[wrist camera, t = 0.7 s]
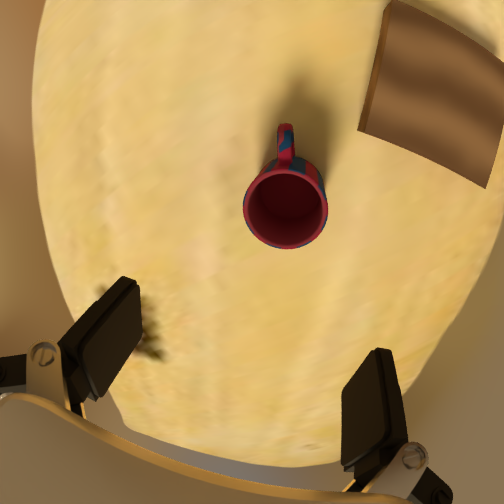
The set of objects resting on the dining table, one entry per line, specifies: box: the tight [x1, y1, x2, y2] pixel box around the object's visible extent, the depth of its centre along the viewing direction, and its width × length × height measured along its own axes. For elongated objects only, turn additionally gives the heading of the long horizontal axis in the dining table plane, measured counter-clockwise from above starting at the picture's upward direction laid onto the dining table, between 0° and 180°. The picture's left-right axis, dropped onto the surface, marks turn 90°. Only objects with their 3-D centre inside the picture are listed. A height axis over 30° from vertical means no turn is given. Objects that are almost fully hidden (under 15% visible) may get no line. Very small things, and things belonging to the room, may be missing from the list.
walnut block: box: [357, 0, 504, 189], centre depth 18 cm, size 14×14×4 cm
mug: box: [243, 123, 328, 249], centre depth 24 cm, size 7×10×7 cm
